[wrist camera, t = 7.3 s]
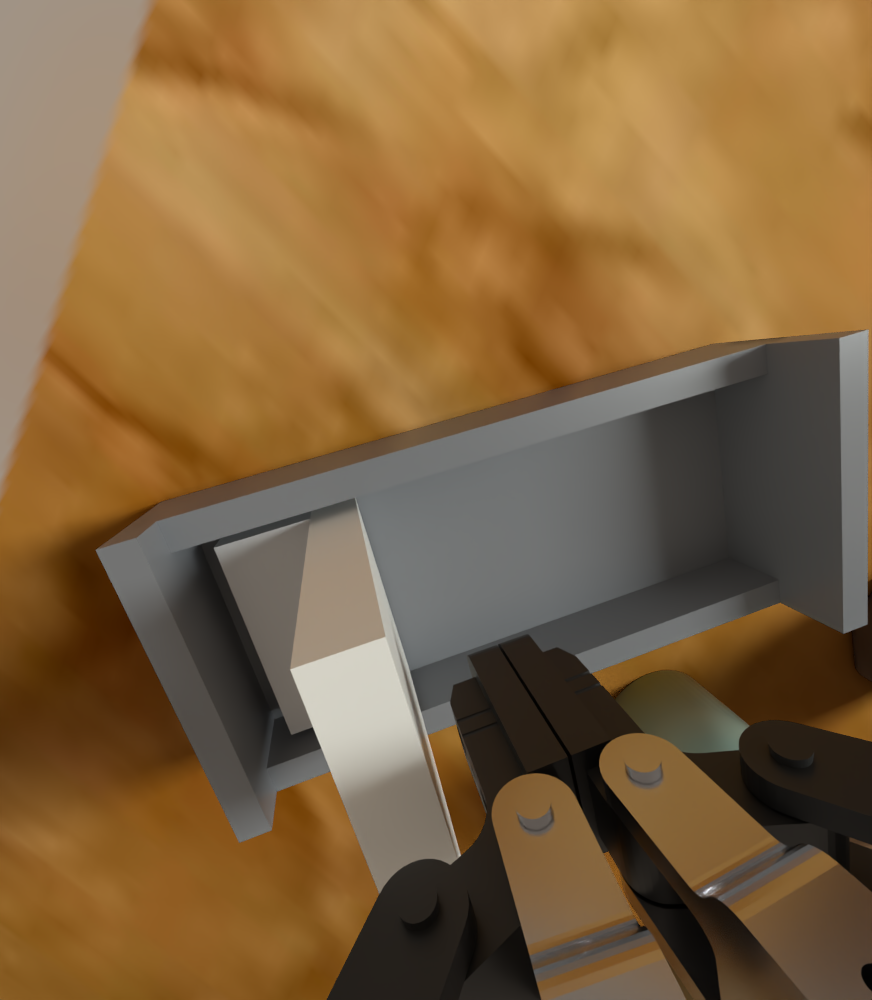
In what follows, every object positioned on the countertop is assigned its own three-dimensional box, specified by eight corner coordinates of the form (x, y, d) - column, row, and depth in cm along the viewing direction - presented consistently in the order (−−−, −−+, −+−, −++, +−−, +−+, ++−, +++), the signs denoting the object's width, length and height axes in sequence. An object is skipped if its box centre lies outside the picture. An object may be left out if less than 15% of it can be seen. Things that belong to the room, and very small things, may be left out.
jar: (700, 652, 24) (950, 835, 14) (711, 746, 25) (941, 967, 16) (592, 693, 23) (778, 916, 13) (610, 787, 25) (787, 1046, 15)
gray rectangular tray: (714, 343, 20) (868, 329, 14) (732, 562, 23) (867, 624, 17) (160, 502, 17) (76, 564, 11) (260, 731, 20) (233, 873, 14)
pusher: (354, 493, 17) (385, 636, 8) (408, 665, 19) (486, 947, 10) (224, 532, 17) (82, 741, 7) (294, 705, 19) (258, 1048, 9)
